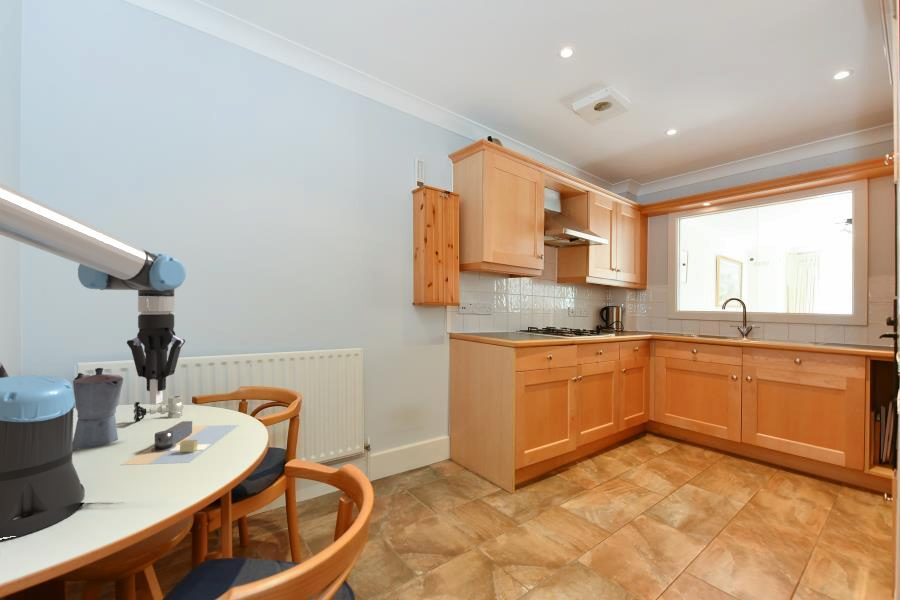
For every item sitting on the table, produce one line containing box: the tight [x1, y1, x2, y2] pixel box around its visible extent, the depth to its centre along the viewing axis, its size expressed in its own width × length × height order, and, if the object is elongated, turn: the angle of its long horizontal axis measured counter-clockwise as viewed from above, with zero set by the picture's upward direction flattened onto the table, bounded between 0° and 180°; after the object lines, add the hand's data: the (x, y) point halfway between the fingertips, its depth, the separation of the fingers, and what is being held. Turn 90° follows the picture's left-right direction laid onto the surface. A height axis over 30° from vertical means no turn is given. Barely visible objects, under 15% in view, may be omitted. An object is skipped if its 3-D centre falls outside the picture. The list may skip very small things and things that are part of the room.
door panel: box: [120, 424, 240, 466], centre depth 97 cm, size 26×14×1 cm, turn 7°
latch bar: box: [153, 420, 193, 450], centre depth 96 cm, size 12×4×4 cm, turn 7°
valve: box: [133, 395, 184, 424], centre depth 118 cm, size 7×7×12 cm
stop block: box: [180, 440, 197, 453], centre depth 91 cm, size 2×3×2 cm, turn 97°
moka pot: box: [72, 367, 124, 452], centre depth 96 cm, size 10×15×20 cm, turn 78°
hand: (156, 403), depth 99 cm, fingers closed
